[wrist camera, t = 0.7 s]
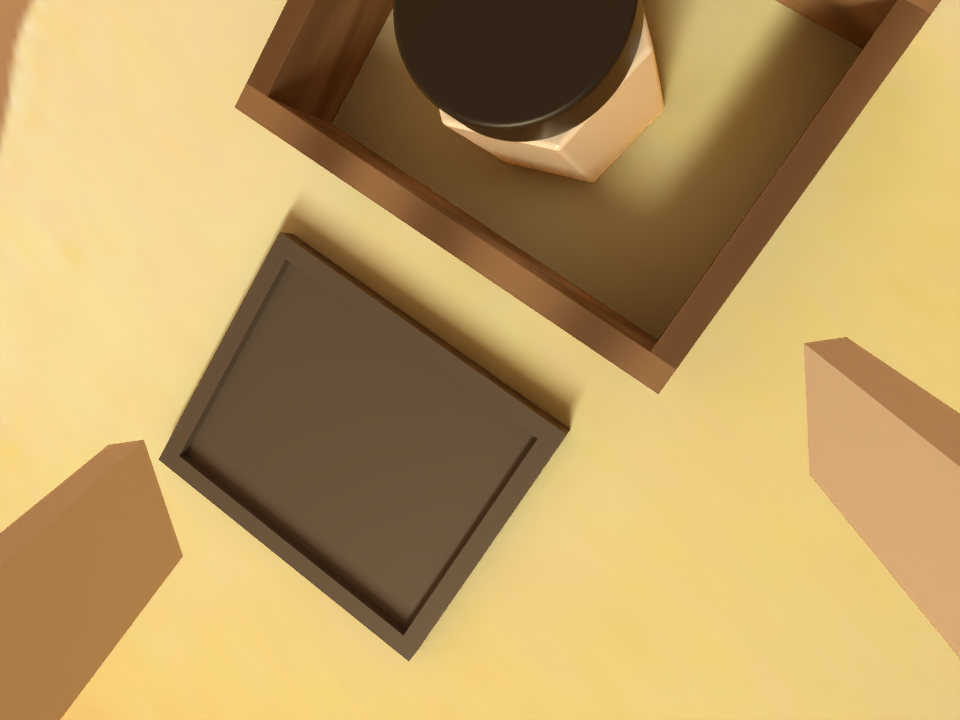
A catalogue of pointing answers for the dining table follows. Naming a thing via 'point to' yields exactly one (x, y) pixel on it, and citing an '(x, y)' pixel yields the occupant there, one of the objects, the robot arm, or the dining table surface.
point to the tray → (358, 444)
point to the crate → (307, 127)
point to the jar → (536, 76)
